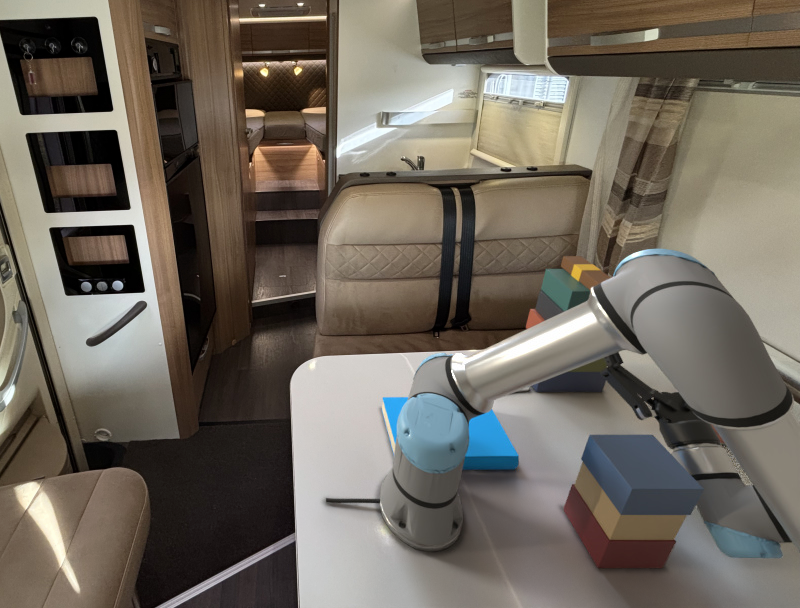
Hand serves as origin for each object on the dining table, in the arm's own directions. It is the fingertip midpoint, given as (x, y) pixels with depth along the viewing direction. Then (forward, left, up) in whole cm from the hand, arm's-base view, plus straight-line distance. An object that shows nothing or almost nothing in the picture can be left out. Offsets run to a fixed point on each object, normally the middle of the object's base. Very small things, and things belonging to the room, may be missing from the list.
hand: (635, 333), depth 88 cm
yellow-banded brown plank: (0, +14, +3) cm, 14 cm away
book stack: (0, +17, -27) cm, 32 cm away
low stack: (-14, -23, -27) cm, 38 cm away
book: (-37, -2, -27) cm, 46 cm away
